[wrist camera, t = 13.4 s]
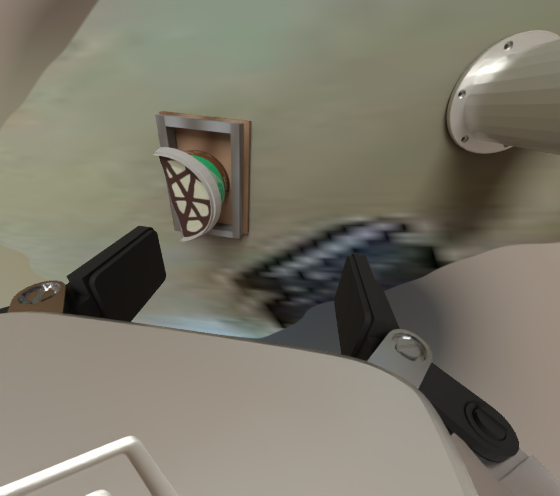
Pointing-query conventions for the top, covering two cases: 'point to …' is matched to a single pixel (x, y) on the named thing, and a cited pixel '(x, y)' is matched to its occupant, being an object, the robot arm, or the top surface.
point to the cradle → (224, 147)
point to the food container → (194, 188)
